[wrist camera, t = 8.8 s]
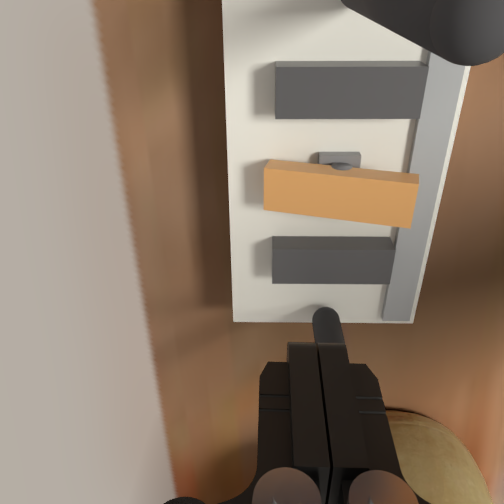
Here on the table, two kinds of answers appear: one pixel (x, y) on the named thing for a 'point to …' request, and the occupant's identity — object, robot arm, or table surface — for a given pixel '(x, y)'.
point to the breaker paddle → (341, 192)
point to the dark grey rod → (327, 326)
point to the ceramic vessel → (436, 461)
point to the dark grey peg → (442, 25)
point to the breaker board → (330, 156)
